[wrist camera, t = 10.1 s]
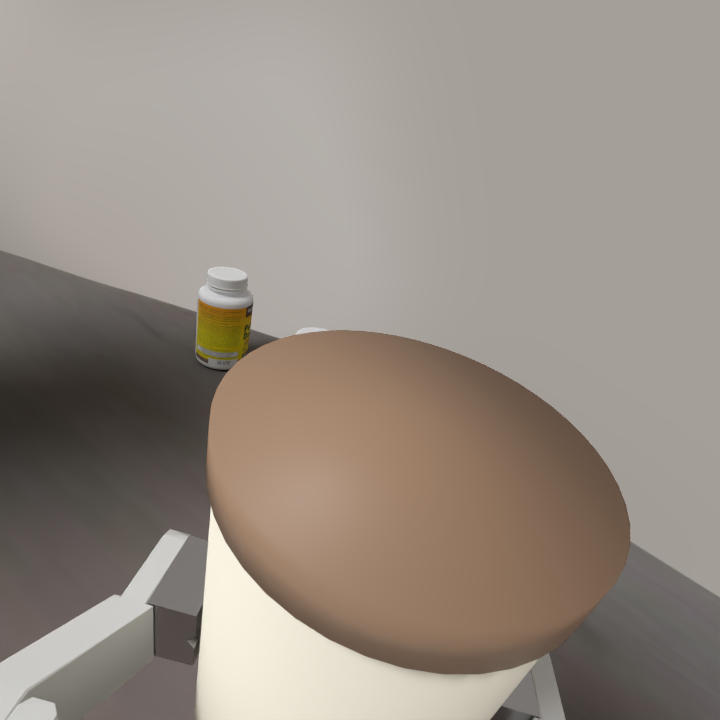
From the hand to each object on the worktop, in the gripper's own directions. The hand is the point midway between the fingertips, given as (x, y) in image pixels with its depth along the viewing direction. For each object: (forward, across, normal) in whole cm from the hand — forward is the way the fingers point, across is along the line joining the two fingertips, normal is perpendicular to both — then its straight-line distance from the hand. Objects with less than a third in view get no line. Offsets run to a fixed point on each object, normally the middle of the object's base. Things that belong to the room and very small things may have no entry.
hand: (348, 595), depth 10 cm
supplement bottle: (+34, -17, -16) cm, 41 cm away
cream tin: (-1, 0, -6) cm, 6 cm away
